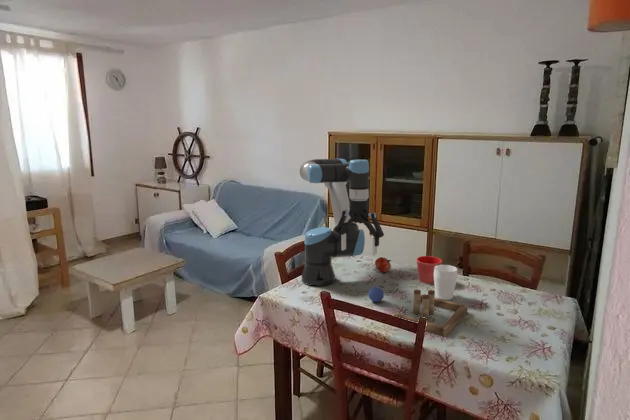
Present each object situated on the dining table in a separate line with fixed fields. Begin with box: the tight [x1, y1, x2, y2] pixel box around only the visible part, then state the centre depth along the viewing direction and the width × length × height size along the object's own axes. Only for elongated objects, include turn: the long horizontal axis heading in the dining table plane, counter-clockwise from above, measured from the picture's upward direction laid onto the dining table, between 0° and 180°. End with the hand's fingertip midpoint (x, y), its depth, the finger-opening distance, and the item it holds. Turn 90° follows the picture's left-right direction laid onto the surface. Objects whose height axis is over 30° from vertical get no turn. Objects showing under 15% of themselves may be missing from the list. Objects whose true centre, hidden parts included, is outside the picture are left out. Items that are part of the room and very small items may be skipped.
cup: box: [433, 264, 458, 301], centre depth 167 cm, size 9×9×12 cm
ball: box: [368, 286, 385, 303], centre depth 164 cm, size 6×6×6 cm
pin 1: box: [421, 293, 430, 321], centre depth 149 cm, size 2×2×9 cm
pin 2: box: [427, 289, 436, 315], centre depth 153 cm, size 2×2×9 cm
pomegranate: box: [374, 256, 392, 274], centre depth 196 cm, size 7×7×10 cm
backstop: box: [392, 294, 468, 338], centre depth 151 cm, size 19×22×2 cm
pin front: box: [412, 289, 422, 315], centre depth 154 cm, size 2×2×9 cm
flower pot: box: [416, 255, 443, 284], centre depth 184 cm, size 11×11×10 cm
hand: (358, 251), depth 167 cm, fingers open, 13 cm apart
